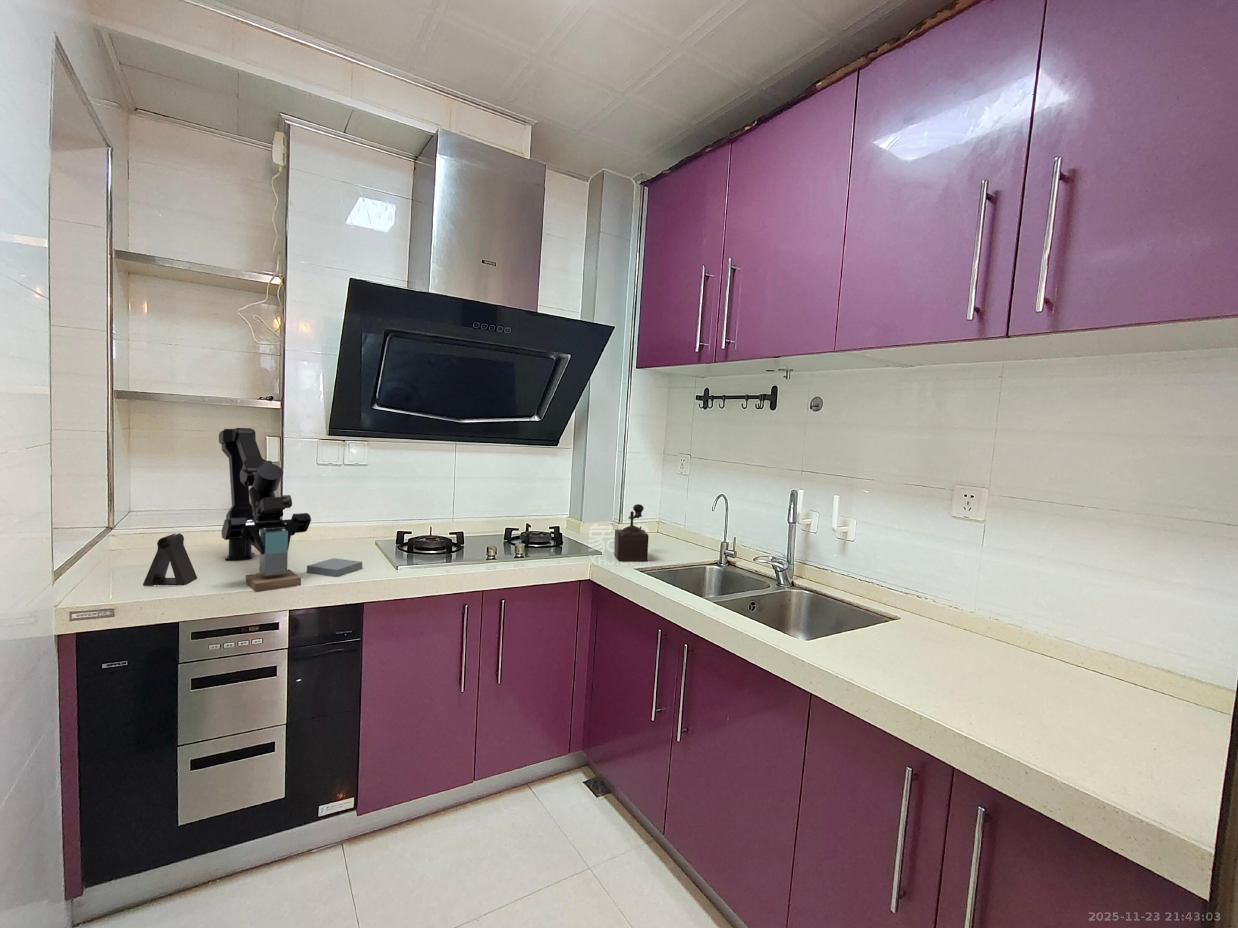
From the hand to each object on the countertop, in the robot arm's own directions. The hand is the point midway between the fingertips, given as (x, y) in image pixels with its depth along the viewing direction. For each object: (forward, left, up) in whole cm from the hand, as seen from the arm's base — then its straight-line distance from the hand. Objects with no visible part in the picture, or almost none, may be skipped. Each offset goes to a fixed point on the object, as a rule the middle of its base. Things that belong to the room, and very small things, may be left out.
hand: (275, 552), depth 140 cm
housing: (-1, 0, -6) cm, 6 cm away
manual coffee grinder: (-7, +107, -9) cm, 107 cm away
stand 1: (-1, 0, -9) cm, 9 cm away
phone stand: (-9, -23, -9) cm, 27 cm away
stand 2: (-11, +14, -9) cm, 20 cm away
